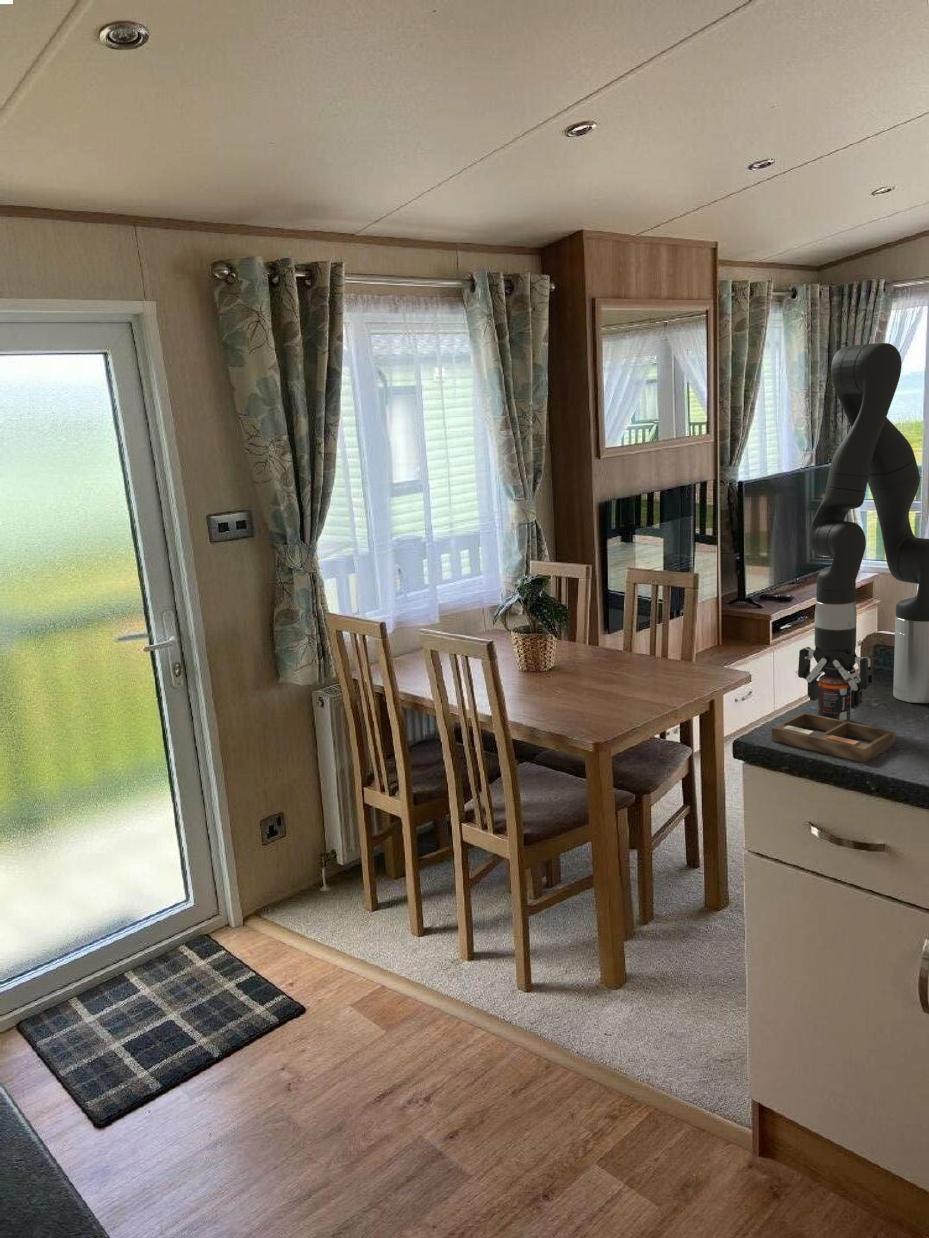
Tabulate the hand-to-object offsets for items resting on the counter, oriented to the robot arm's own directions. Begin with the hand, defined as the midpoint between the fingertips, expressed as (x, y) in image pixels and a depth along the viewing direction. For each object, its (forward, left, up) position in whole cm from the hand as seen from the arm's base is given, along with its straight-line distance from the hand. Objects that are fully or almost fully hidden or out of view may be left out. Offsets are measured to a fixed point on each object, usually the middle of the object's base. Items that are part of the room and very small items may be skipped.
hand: (834, 703), depth 186 cm
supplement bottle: (0, 0, -4) cm, 4 cm away
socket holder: (+6, +10, -4) cm, 13 cm away
